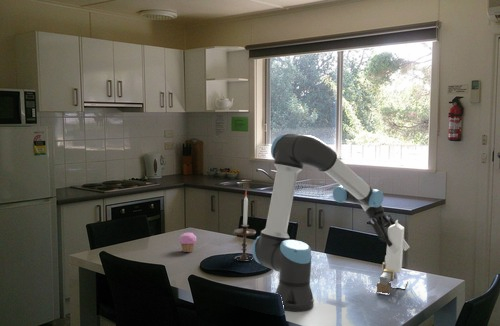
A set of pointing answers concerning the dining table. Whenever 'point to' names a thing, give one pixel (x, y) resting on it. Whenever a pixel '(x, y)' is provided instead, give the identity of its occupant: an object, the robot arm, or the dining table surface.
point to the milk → (397, 237)
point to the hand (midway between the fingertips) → (401, 250)
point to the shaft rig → (385, 280)
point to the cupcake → (187, 241)
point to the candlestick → (244, 231)
